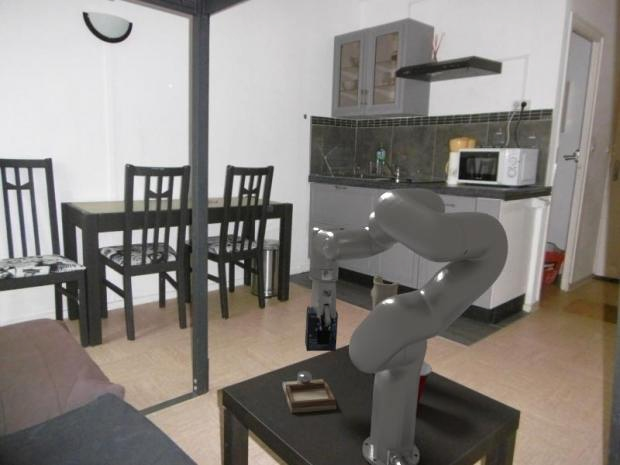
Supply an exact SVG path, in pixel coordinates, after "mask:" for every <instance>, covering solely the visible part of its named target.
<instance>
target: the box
mask: <svg viewBox="0 0 620 465" xmlns="http://www.w3.org/2000/svg"><path fill="white" fill-rule="evenodd" d="M305 315H306V316H305V319H306V320H305V335H304V336H305V339H304V344H305V350H306V352H336V351H337V338H338V336H337V335H338V319H339V318H338V317H339V313H338V311H337V310H336V318H335V319H333V318H331V316H330V320H331V323H330V343H329V344H317V333H318V329H319V319H318V318H317V317H316V313H315V311H314V309H313V307H312V306H306V314H305ZM330 315H331V314H330ZM321 318H324V315H323V316H321ZM323 322H324V320H322V323H323Z"/></svg>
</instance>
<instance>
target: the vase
mask: <svg viewBox="0 0 620 465" xmlns="http://www.w3.org/2000/svg"><path fill="white" fill-rule="evenodd" d="M383 280H384V279H383V277H382V276H380V275H375V277H373V287H372V288H371V290H370V296H371V298H372V310H373V309H374V308H375V307H376V306H377V305H378V304H379V303H380V302H381V301H383V300H384V299H386V298H388V297H391V296H394V295H398V288H399V285H400V282H394V283H392V284H387V283H384V281H383ZM372 374H374V375H375V374H376V373H372Z"/></svg>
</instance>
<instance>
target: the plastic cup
mask: <svg viewBox="0 0 620 465" xmlns="http://www.w3.org/2000/svg"><path fill="white" fill-rule="evenodd" d="M432 370H433V368H432V366H431V365H430V364H429V363H428V362H427V361H426V360H424V361H423V364H422V368H421V373H420V379H419V389H418V398H417V408H418V407H419V404H420V400H421V397H422V394H423V390H424V387H425V384H426V381H427V379H428V377H429V375H430V374H431V373H432Z"/></svg>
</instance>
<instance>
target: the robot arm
mask: <svg viewBox="0 0 620 465" xmlns="http://www.w3.org/2000/svg"><path fill="white" fill-rule="evenodd" d="M507 236H508V235H507V233H506V229H505V227H504V226H503V224H502V223H501V222H500V221H499V219H497V218H496V217H494V216H493V215H491V214H488V213H485V212H479V211H459V212H458V211H457V212H446V205H445V202H444V200H443V198H442V197H441V195H440V194H438V193H437V192H436V191H433V190H431V189H428V188H393V189H390V190H386V191H385V192H384V193H382V194H381V195H380V197H378V198H377V201H376V202H375V205H374V210H373V211H372V212H371V213H370V214H369V216H368V219H367V226H366V227H363V228H351V229H339V228H338V227H336V226H332V225H326V224H325V225H316V226H313V228H311V232H310V252H309V254H310V255H309V274H308V275H309V276H308V277H309V278H308V279H309V280H310V281H312V284H311V304H310V307H313V309H314V311H315V313H316V317H317V318H318V319H319V329H318V333H317V344H329V343H330V323H331V320H330V316H331V318H333V319H335V318H336V311H337V285H336V282H337V281H338V280H339V268H340V267H339V264H340V263H339V262H346V261H353V260H354V261H355V260H362V259H369V258H371V257H374V256H376V255H379V254H383V253H384V252H387V251H388V250H390V249H392V248H393V246H394V245H395V244H398V243H400V244H401V245H402V246H404V247H406V248H407V249H409V250H410V251H412V252H413V253H415V254H416V255H418V256H420V257H421V258H423V259H425V260H427V261H429V262H432V263H440V264H442V263H447V264H445V265H444V266H442V267H441V268H440V269H439V270H438V271H437V272H436V273H434V275H433V276H432V277H431V278H430V279H429V280H428V281H427V282H426V283H425V284H424V285H423V286H421V287H420V288H419V289H417V290H413V291H409V292H404V293H400V294H397V295H394V296H391V297H388V298H386V299H384V300H383V301H381V302H380V303H379V304H378V305H377V306H376V307H375V308H374V309H373V308H372V310H371V311H370V312H369V314H368V315H366V317H365V318H364V319H363V320H362V321H361V322H360V324H358V325H357V327H356V328H355V330H354V331H353V332H352V334H351V336H350V339H349V342H348V354H349V358H350V360H351V363H352V364H353V365H354V366H355V368H356V369H358V370H359V371H361V372H363V373H365V374H373V373H376V374H374V382H373V392H372V404H371V407H372V408H371V420H370V433H369V434H370V436H368V437H367V438H366V439H364V441H363V443H362V455H363V457H364V459H365V460H366V461H367V462H368V463H369V464H370V465H418V464H419V463H420V451H419V448H418V447H417V446H416V444H415V442H414V441H415V433H416V432H415V430H416V419H417V409H418V407H417V398H418V389H419V379H420V373H421V368H422V364H423V361H425V357H426V355H427V354H426V353H427V350H428V340H430V339H432V338H435V337H437V336H439V335H440V334H442V333H443V332H444V331H446V329H447V328H448V327H450V325H451V324H452V323H454V322H455V321H456V320H457V319H458V318H459V317H460V316H461V315H463V313H465V311H466V310H468V308H469V307H470V306H472V305H473V303H475V302H476V301H477V300H478V299H479V298H481V296H483V295H484V294H485V293H486V292H487V291H488V290H489V289H490V288H491V287H492V286H493V285H494V284H495V283H496V281H497V280H498V279H499V277H500V275H501V274H502V272H503V270H504V268H505V266H506V263H507V261H508V260H507V259H508V253H509V242H508V241H509V240H508V237H507ZM330 314H331V315H330ZM323 315H324V318H321V316H323ZM322 320H324V322H323V323H322Z"/></svg>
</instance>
